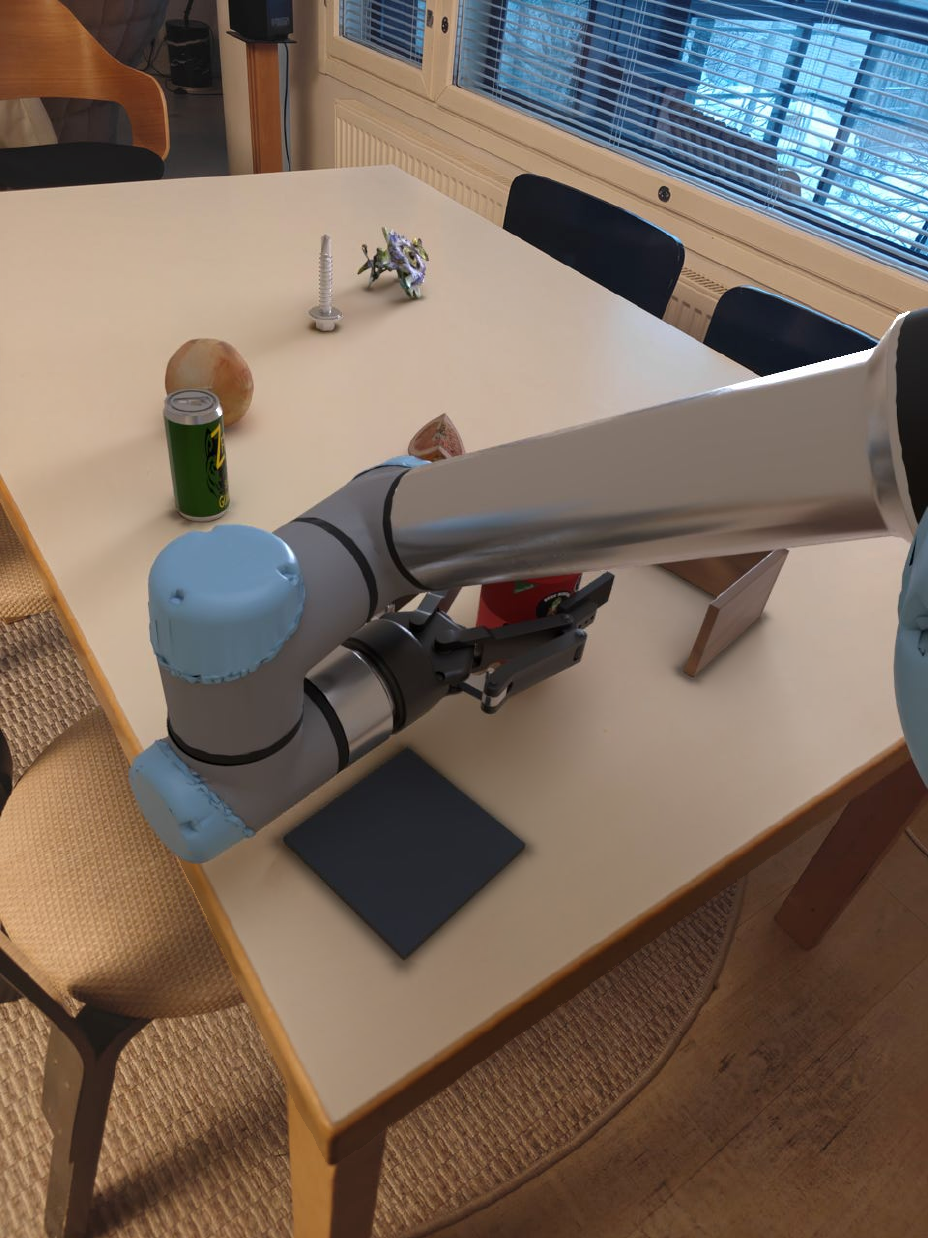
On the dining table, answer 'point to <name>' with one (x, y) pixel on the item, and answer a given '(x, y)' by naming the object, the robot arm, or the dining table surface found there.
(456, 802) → the mat
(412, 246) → the passion flower
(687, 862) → the dining table surface
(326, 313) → the screw
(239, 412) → the onion
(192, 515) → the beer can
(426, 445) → the fruit slice
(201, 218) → the dining table surface
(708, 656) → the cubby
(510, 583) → the canned food
